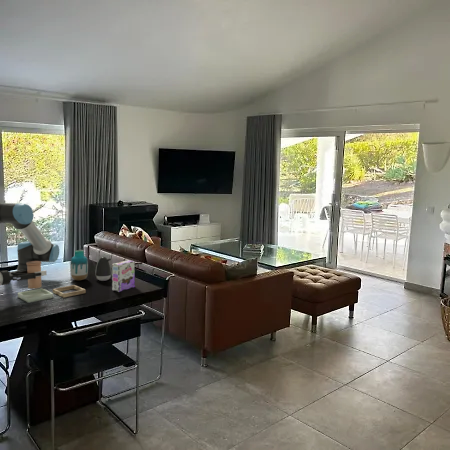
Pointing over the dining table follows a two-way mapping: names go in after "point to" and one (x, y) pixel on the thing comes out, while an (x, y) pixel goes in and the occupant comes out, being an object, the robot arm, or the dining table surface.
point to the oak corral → (80, 291)
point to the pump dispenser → (103, 269)
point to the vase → (79, 266)
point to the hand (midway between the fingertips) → (43, 271)
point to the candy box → (123, 275)
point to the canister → (31, 268)
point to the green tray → (35, 295)
